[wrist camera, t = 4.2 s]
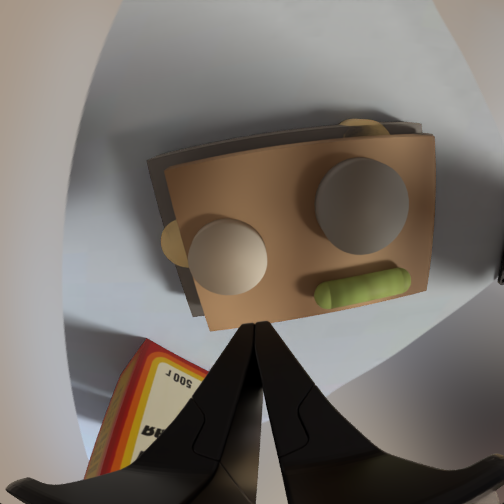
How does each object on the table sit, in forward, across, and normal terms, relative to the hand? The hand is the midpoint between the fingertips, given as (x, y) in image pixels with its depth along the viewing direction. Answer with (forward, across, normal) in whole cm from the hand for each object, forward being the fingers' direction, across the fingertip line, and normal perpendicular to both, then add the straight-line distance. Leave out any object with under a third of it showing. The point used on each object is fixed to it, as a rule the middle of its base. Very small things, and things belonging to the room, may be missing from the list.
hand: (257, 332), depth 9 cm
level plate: (+8, -3, 0) cm, 8 cm away
